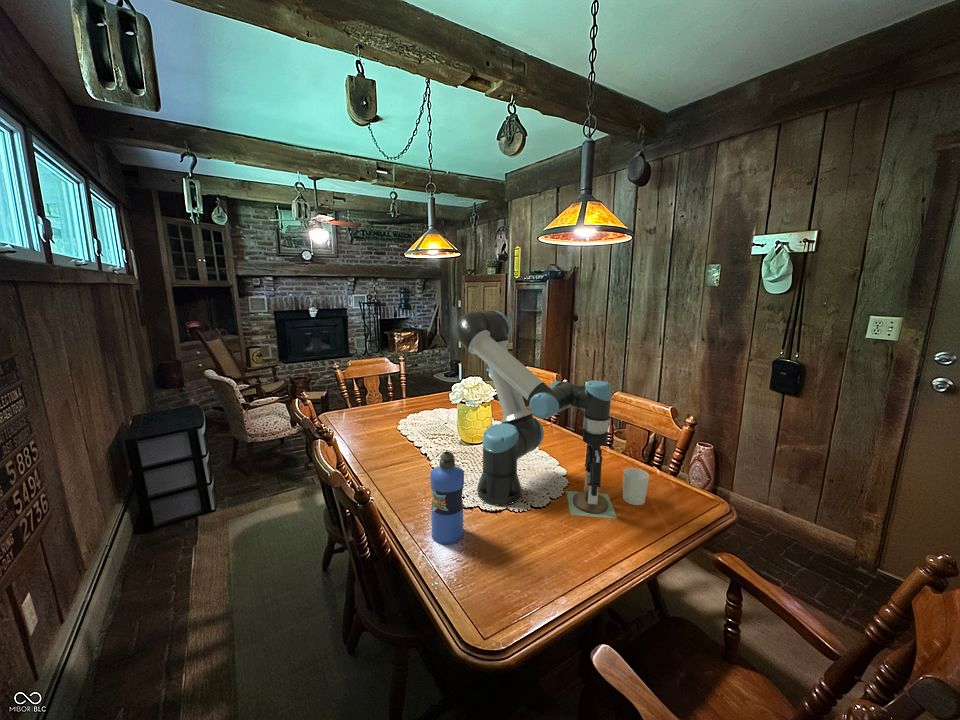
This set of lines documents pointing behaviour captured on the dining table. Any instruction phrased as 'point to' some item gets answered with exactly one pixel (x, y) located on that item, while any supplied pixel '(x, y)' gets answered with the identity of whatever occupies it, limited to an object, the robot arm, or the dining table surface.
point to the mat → (575, 511)
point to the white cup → (635, 485)
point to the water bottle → (447, 501)
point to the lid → (582, 501)
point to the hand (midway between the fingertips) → (590, 496)
